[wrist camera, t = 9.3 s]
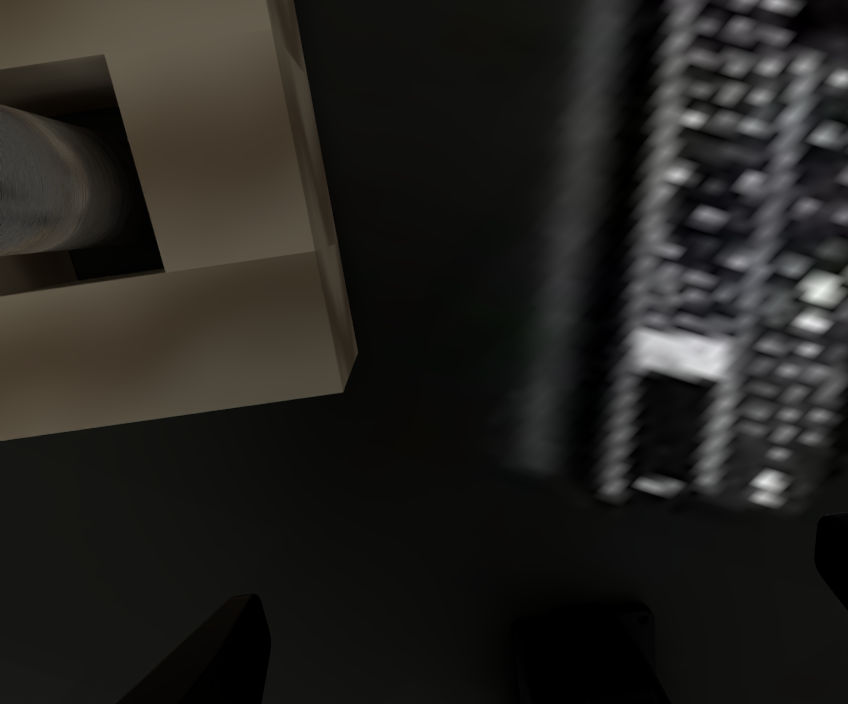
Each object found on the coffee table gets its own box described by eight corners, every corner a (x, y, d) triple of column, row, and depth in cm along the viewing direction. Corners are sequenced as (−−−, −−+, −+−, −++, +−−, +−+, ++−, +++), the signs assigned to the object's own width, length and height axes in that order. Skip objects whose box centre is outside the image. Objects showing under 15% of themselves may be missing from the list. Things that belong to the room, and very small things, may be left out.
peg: (190, 236, 18) (21, 249, 10) (96, 250, 18) (-144, 273, 10) (163, 133, 17) (-45, 60, 9) (64, 147, 17) (-227, 88, 9)
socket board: (357, 352, 19) (342, 392, 15) (7, 402, 19) (-109, 456, 15) (280, -70, 15) (229, -184, 11) (-154, -5, 15) (-373, -91, 11)
